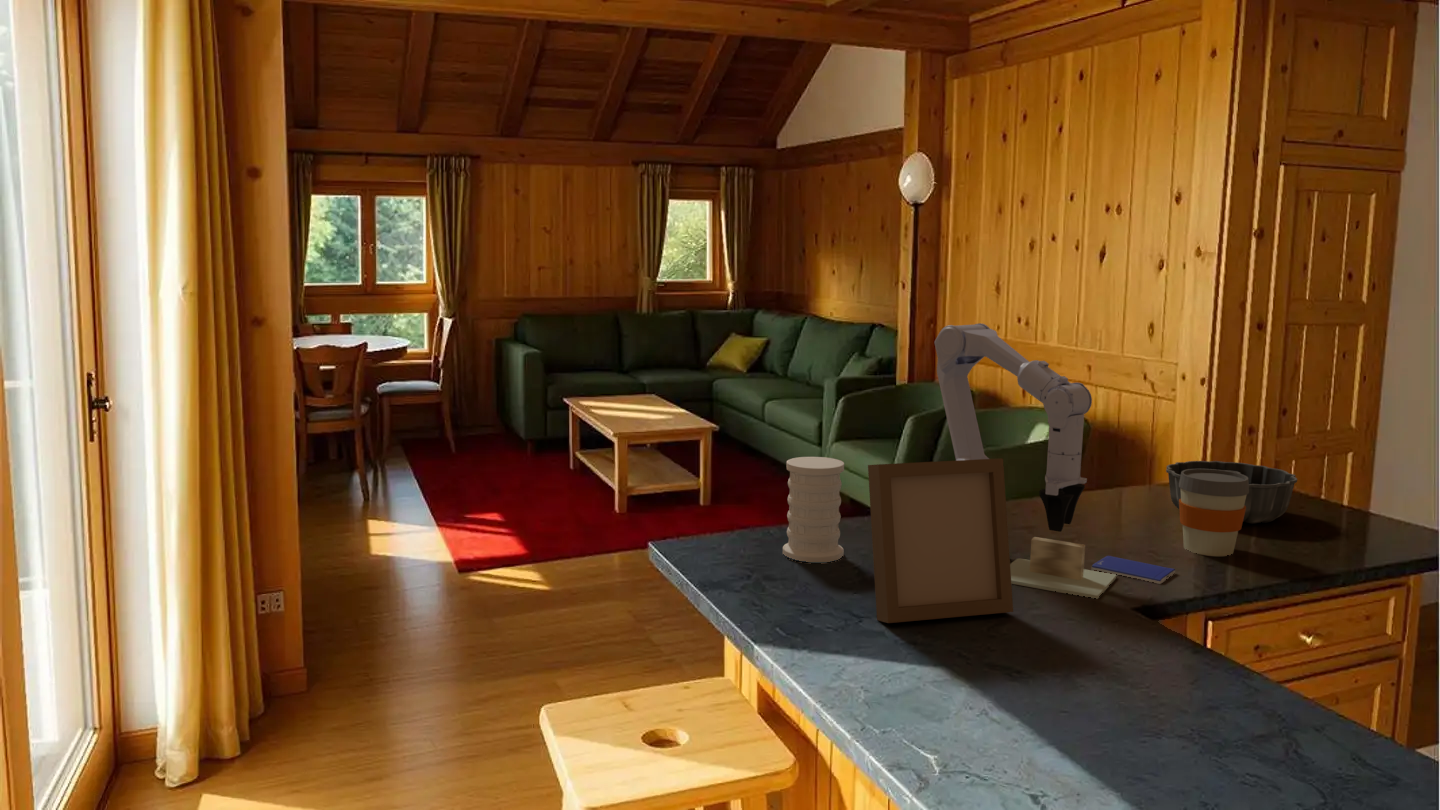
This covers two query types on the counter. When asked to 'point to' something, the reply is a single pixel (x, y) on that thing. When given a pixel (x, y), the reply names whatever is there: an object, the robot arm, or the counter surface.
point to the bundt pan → (1265, 487)
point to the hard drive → (1133, 569)
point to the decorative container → (814, 509)
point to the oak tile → (1057, 558)
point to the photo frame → (940, 539)
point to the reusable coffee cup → (1212, 510)
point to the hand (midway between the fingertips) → (1060, 526)
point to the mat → (1061, 580)
